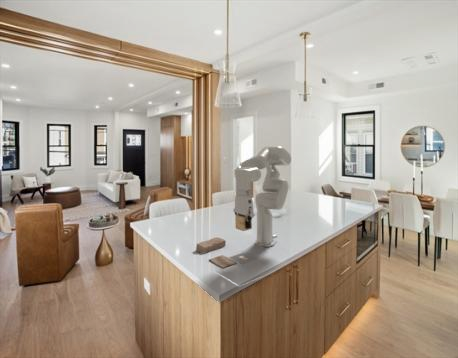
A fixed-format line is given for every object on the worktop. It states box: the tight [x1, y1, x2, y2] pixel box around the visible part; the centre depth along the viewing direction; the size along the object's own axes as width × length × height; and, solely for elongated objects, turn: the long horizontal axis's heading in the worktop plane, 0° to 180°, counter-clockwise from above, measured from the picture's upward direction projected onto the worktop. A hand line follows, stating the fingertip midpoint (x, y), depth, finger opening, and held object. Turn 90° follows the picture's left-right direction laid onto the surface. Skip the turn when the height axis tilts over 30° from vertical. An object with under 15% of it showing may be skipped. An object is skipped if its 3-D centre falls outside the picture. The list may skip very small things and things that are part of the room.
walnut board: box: [208, 254, 238, 269], centre depth 131 cm, size 9×12×1 cm
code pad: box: [228, 251, 259, 265], centre depth 136 cm, size 11×11×1 cm
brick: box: [195, 237, 226, 254], centre depth 152 cm, size 17×8×5 cm, turn 133°
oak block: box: [234, 214, 253, 232], centre depth 135 cm, size 6×6×7 cm
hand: (243, 226), depth 135 cm, fingers closed on oak block, 6 cm apart
